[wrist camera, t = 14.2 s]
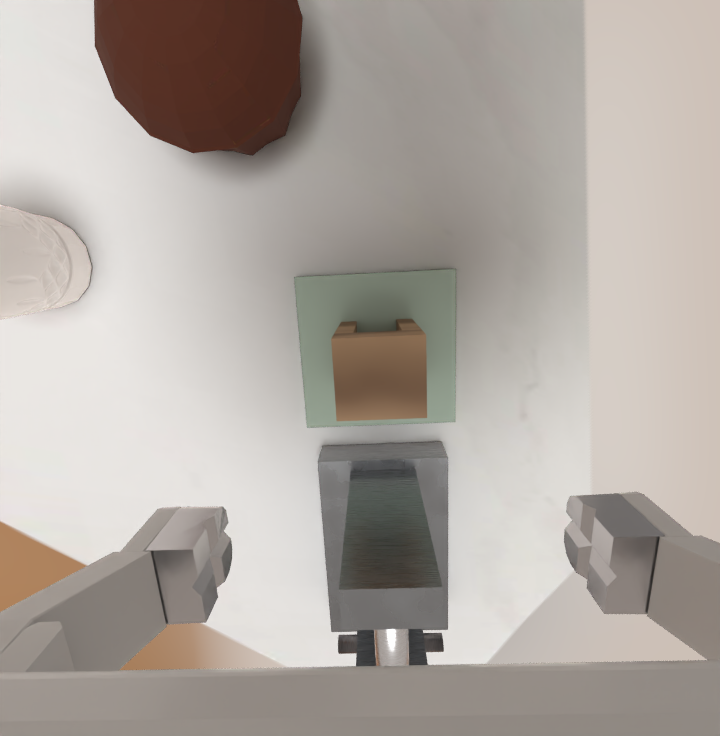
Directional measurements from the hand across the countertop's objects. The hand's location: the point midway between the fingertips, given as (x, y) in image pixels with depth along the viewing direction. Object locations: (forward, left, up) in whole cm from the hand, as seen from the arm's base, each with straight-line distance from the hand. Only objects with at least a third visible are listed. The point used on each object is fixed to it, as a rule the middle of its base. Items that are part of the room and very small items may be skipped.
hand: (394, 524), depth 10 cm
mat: (0, 0, -23) cm, 23 cm away
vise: (+16, 0, -23) cm, 28 cm away
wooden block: (0, 0, -22) cm, 22 cm away
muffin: (-19, -9, -23) cm, 31 cm away
